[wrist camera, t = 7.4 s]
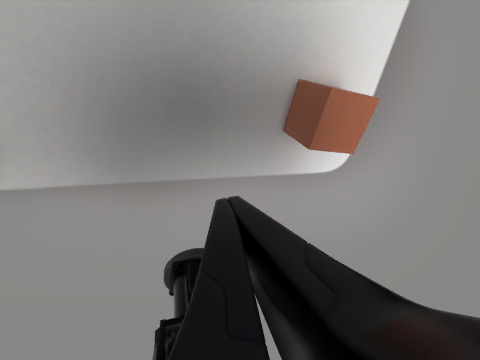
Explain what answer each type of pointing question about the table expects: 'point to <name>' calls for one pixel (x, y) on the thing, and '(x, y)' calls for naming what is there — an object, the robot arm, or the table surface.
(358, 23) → the table surface
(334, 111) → the block
